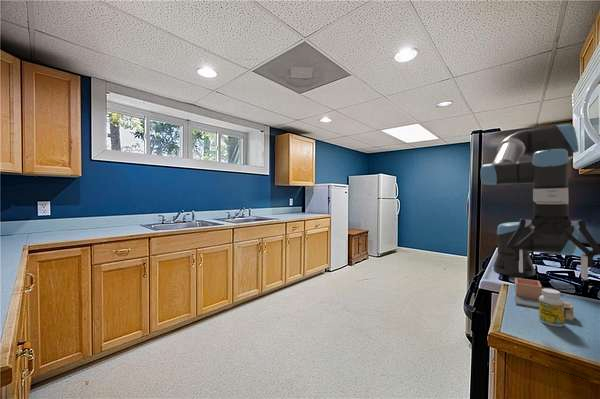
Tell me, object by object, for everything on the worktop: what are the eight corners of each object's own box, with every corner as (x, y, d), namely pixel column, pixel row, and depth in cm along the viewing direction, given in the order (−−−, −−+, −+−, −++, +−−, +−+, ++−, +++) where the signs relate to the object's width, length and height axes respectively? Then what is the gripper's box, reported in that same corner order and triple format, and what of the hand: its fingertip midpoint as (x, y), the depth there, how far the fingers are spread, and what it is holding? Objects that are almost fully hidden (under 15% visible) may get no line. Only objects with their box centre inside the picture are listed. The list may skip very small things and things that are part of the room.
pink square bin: (514, 290, 102) (514, 277, 102) (539, 294, 98) (539, 280, 98) (516, 296, 96) (516, 283, 96) (542, 300, 92) (542, 286, 92)
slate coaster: (514, 297, 96) (514, 295, 96) (540, 301, 92) (540, 300, 92) (516, 304, 90) (516, 303, 90) (543, 309, 86) (543, 307, 86)
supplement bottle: (565, 322, 77) (565, 290, 77) (562, 329, 74) (562, 295, 74) (541, 316, 82) (541, 286, 81) (537, 322, 78) (536, 290, 78)
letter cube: (552, 312, 84) (552, 299, 84) (570, 315, 82) (570, 302, 82) (555, 317, 81) (554, 304, 81) (573, 320, 79) (573, 307, 79)
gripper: (497, 203, 81) (498, 271, 82) (620, 203, 66) (620, 286, 67) (496, 202, 87) (497, 265, 88) (609, 201, 72) (609, 277, 73)
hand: (550, 274), depth 77 cm, fingers open, 13 cm apart
